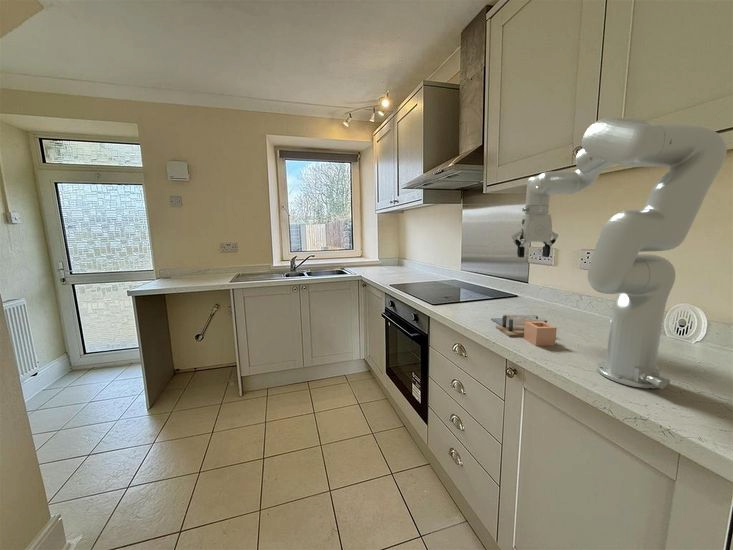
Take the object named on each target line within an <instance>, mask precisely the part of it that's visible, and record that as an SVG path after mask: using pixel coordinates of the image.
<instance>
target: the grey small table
mask: <svg viewBox="0 0 733 550" xmlns="http://www.w3.org/2000/svg"><path fill="white" fill-rule="evenodd" d="M502 318H503V320H502V327H506V321H507V318H510V319H509V328H508V331H513V322H540V321H544V322H546V323H548V320H547V319H545V318H544V319H543V318H542V319H541V318H539V316H538V315H535V314H533V315H531V314H529V315H528V314H503V315H502Z"/></svg>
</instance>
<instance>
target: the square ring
mask: <svg viewBox="0 0 733 550" xmlns="http://www.w3.org/2000/svg"><path fill="white" fill-rule="evenodd" d="M557 329H558V327H556V326H554V325H552V324H550V323H548V322H547V323H546V322H544V321H540V322H525V329H524V337H523V339H524V340H526V341H528V342H529V343H531V344H532V345H534V346H535V347H537V346H539V347H540V346H541V347H543V346H556V340H557V339H556V338H557Z"/></svg>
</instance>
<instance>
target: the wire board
mask: <svg viewBox="0 0 733 550" xmlns="http://www.w3.org/2000/svg"><path fill="white" fill-rule="evenodd" d="M508 328H509V325H506V327H502V326H500V325H495V329H497V330H498V329H499V330H498V331H500V332H501V333H503V334H504V335H506V336H508V337H509V338H518V337H521V338H524V329H525V325H513V331H508Z"/></svg>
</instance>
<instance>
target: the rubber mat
mask: <svg viewBox="0 0 733 550" xmlns="http://www.w3.org/2000/svg"><path fill="white" fill-rule="evenodd" d="M509 319H510V318H507V321H506V325H509ZM490 320H491V321H492V322H493V323H495V322H496V324H498V326H502V320H503V317H498V318H497V317H495V318H493V317H491V318H490ZM513 325H525V322H513Z"/></svg>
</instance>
